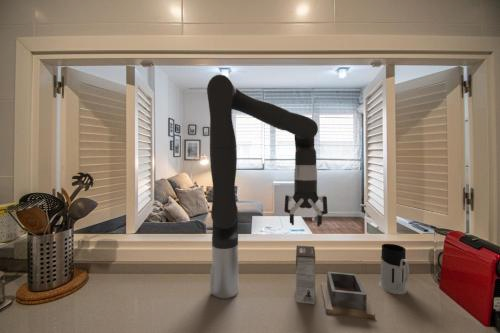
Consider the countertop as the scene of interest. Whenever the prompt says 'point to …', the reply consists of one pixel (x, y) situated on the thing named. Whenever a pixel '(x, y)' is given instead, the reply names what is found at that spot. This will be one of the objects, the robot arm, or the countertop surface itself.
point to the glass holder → (393, 269)
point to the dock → (345, 295)
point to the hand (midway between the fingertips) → (305, 225)
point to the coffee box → (305, 274)
